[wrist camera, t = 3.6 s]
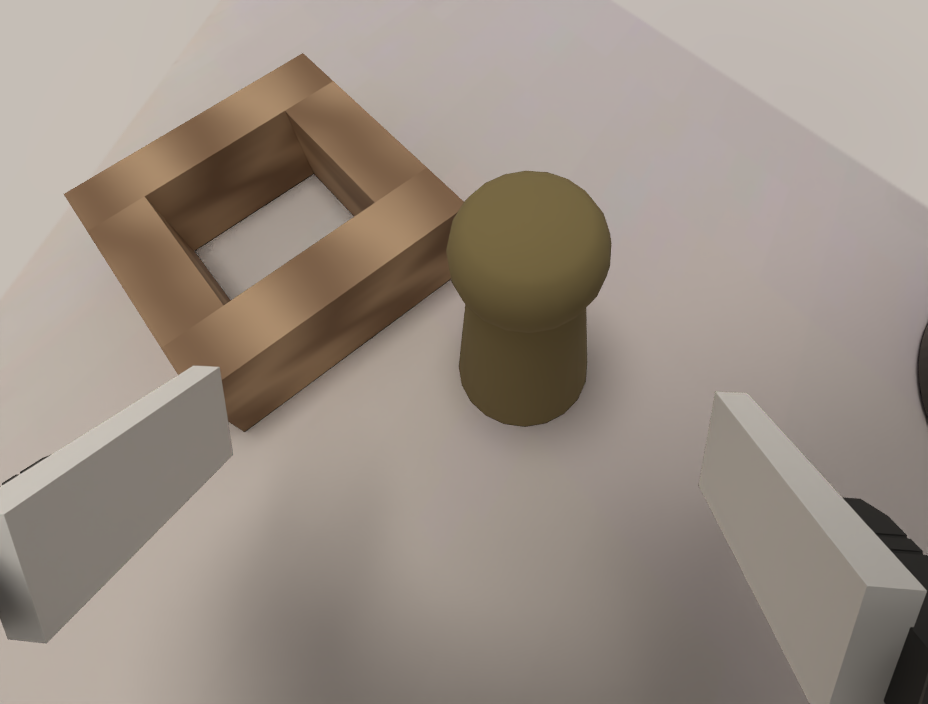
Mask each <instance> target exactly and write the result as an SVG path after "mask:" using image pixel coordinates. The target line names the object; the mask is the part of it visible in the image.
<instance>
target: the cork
mask: <svg viewBox="0 0 928 704" xmlns="http://www.w3.org/2000/svg"><path fill="white" fill-rule="evenodd" d="M446 253H447V259H448V265H449V271H450V276H451V281H452V283H453V285H454V286H455V288H456V290H457V292H458V293H459V295H460V297H461V298H462V300H463V302H464V303H465V313H464V323H463V332H462V342H461V351H460V361H459V370H460V377H461V383H462V386H463V388H464V390H465V392H466V393H467V395H468V397H469V399H470V401H471V402H472V403H473V404H474V405H475V406H476V407H477V408H478V409H479V410H481V411H482V412H483V413H484V414H485V415H486V416H488V417H491V418H493V419H495V420H497V421H499V422H501V423H503V424H509V425H517V426H524V427H526V426H531V425H537V424H543V423H547V422H549V421H551V420H553V419H554V418H556V417H558V416H560V415H562V414H564V413H565V412H566V411H567V410H568V409H569V408H570V407H571V406H572V405H573V404H574V403H575V402H576V401H577V399H578V397H579V395H580V393H581V391H582V389H583V386H584V384H585V382H586V370H587V327H586V307H587V306H588V305H589V304H590V303H591V302H592V301H593V300H594V299H595V298H596V297H597V295H598V293H599V291H600V289H601V287H602V285H603V282H604V280H605V278H606V276H607V273H608V270H609V267H610V257H611V238H610V232H609V229H608V226H607V223H606V220H605V217H604V214H603V212H602V211H601V210H600V208H599V207H598V206H597V205H596V203H595V202H594V201H593V200H592V198H591V197H590V196H589V195H588V194H587V192H586V191H585V190H583V189H582V188H580V187H579V186H577V185H576V184H574V183H573V182H571V181H570V180H568V179H566V178H563V177H560V176H557V175H554V174H551V173H548V172H535V171H522V172H516V173H511V174H505V175H502V176H500V177H498V178H496V179H494V180H491V181H489V182H487V183H485V184H484V185H483V186H481V187H480V188H479V189H478V190H477V191H475V192H474V193H473V194H472V195H471V196H469V198H468V199H467V200H466V201H465V202H464V203H463V204H462V206H461V208H460V209H459V211H458V212H457V214H456V216H455V217H454V219H453V221H452V225H451V230H450V234H449V239H448V244H447V249H446Z"/></svg>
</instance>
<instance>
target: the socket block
mask: <svg viewBox="0 0 928 704" xmlns="http://www.w3.org/2000/svg"><path fill="white" fill-rule="evenodd" d="M312 174H315V175H316V176H317V177H318V178H319V179H320V181H321V182H322V183H323V184H324V185H325V186H326V187H327V188H328V189H329V190H330V191H331V192H332V193H333V194H334V195H335V196H336V197H337V199H338V200H339V201H340V202H341V203H342V204H343V205H344V206H345V207H346V208H347V209H348V210H349V211H350V212H351V213H352V214H353V215H354V217H353V218H352V219H350V220H349V221H347V222H346V223H344V224H343V225H341V226H340V227H338V228H337V229H336V230H334V231H333V232H331V233H330V234H328V235H327V236H325V237H324V238H322V239H321V240H319V241H318V242H316V243H315V244H313V245H312V246H311V247H309V248H308V249H306V250H305V251H303V252H302V253H300V254H299V255H297V256H296V257H294V258H293V259H291V260H290V261H288V262H287V263H286V264H284V265H283V266H281V267H280V268H278V269H277V270H275V271H274V272H272V273H271V274H269V275H268V276H266V277H265V278H263V279H262V280H261V281H259V282H258V283H256V284H255V285H253V286H252V287H250V288H249V289H247V290H246V291H244V292H243V293H241V294H240V295H238V296H237V297H235V298H234V299H233V300H231V301H230V299H229V298H228V296H227V295H226V294H225V292H224V291H223V290H222V288H221V287H220V286H219V284H218V283H217V281H216V280H215V279H214V277H213V276H212V275H211V273H210V272H209V271H208V269H207V268H206V267H205V265H204V264H203V262H202V261H201V260H200V258H199V257H198V256H197V254H196V253H195V252H194V251H195V250H196V249H198V248H199V247H201V246H202V245H204V244H205V243H207V242H208V241H210V240H212V239H213V238H215V237H216V236H218V235H219V234H221V233H222V232H224V231H225V230H227V229H229V228H230V227H232V226H233V225H235V224H236V223H238V222H239V221H241V220H242V219H244V218H246V217H247V216H249V215H250V214H252V213H253V212H255V211H256V210H258V209H259V208H261V207H263V206H264V205H266V204H267V203H269V202H270V201H272V200H273V199H275V198H276V197H278V196H280V195H281V194H283V193H284V192H286V191H287V190H289V189H290V188H292V187H293V186H295V185H297V184H298V183H300V182H301V181H303V180H304V179H306V178H307V177H309V176H310V175H312ZM64 195H65V197H66V198H67V200H68V202H69V203H70V205H71V206H72V208H73V210H74V211H75V213H76V214H77V216H78V217H79V219H80V221H81V222H82V224H83V225H84V227H85V228H86V230H87V232H88V233H89V235H90V236H91V238H92V240H93V241H94V243H95V244H96V246H97V247H98V249H99V251H100V252H101V254H102V255H103V257H104V258H105V260H106V262H107V263H108V265H109V266H110V268H111V270H112V271H113V273H114V274H115V276H116V277H117V279H118V281H119V282H120V284H121V285H122V287H123V288H124V290H125V292H126V293H127V295H128V296H129V298H130V300H131V301H132V303H133V304H134V306H135V307H136V309H137V311H138V312H139V314H140V315H141V317H142V318H143V320H144V322H145V323H146V325H147V326H148V328H149V330H150V331H151V333H152V334H153V336H154V337H155V339H156V341H157V342H158V344H159V345H160V347H161V348H162V350H163V352H164V353H165V355H166V356H167V358H168V360H169V361H170V363H171V364H172V366H173V367H174V369H175V371H176V372H177V374H178V375H179V374H181V373H182V372H184V371H186V370H187V369H189V368H190V367H192V366H212V367H220V372H221V379H222V385H223V392H224V398H225V405H226V411H227V418H228V422H230V423H231V424H233V425H234V426H236V427H238V428H239V429H241V430H242V431H244V432H245V431H246V430H248V429H249V428H250V427H252V426H253V425H254V424H256V423H257V422H258V421H260V420H261V419H263V418H264V417H265V416H267V415H268V414H269V413H271V412H272V411H273V410H275V409H276V408H277V407H279V406H280V405H281V404H283V403H284V402H285V401H287V400H288V399H289V398H291V397H292V396H294V395H295V394H296V393H298V392H299V391H300V390H302V389H303V388H304V387H306V386H307V385H308V384H310V383H311V382H312V381H314V380H315V379H316V378H318V377H319V376H320V375H322V374H323V373H325V372H326V371H327V370H329V369H330V368H331V367H333V366H334V365H335V364H337V363H338V362H339V361H341V360H342V359H343V358H345V357H346V356H347V355H349V354H350V353H351V352H353V351H354V350H356V349H357V348H358V347H360V346H361V345H362V344H364V343H365V342H366V341H368V340H369V339H370V338H372V337H373V336H374V335H376V334H377V333H378V332H380V331H381V330H383V329H384V328H385V327H387V326H388V325H389V324H391V323H392V322H393V321H395V320H396V319H397V318H399V317H400V316H401V315H403V314H404V313H405V312H407V311H408V310H409V309H411V308H412V307H414V306H415V305H416V304H418V303H419V302H420V301H422V300H423V299H424V298H426V297H427V296H428V295H430V294H431V293H432V292H434V291H435V290H436V289H438V288H439V287H440V286H442V285H443V284H445V283H446V282H447V281H449V280H450V279H451V276H450V271H449V265H448V259H447V253H446V249H447V244H448V239H449V234H450V230H451V225H452V221H453V219H454V217H455V216H456V214H457V212H458V211H459V209H460V208H461V206H462V204H463V203H464V201H462V200H461V199H460V198H459V197H458V196H457V195H456V194H455V193H454V192H453V191H452V190H451V189H449V188H448V187H447V186H446V185H445V184H444V183H443V182H442V181H441V180H440V179H439V178H438V177H436V176H435V175H434V174H433V173H432V172H431V171H430V170H429V169H428V168H427V167H426V166H425V165H423V164H422V163H421V162H420V161H419V160H418V159H417V158H416V157H415V156H414V155H413V154H412V153H410V152H409V151H408V150H407V149H406V148H405V147H404V146H403V145H402V144H401V143H400V142H399V141H397V140H396V139H395V138H394V137H393V136H392V135H391V134H390V133H389V132H388V131H387V130H386V129H384V128H383V127H382V126H381V125H380V124H379V123H378V122H377V121H376V120H375V119H374V118H373V117H371V116H370V115H369V114H368V113H367V112H366V111H365V110H364V109H363V108H362V107H361V106H360V105H358V104H357V103H356V102H355V101H354V100H353V99H352V98H351V97H350V96H349V95H348V94H347V93H345V92H344V91H343V90H342V89H341V88H340V87H339V86H338V85H337V84H336V83H335V82H334V81H332V80H331V79H330V78H329V77H328V76H327V75H326V74H325V73H324V72H323V71H322V70H321V69H319V68H318V67H317V66H316V65H315V64H314V63H313V62H312V61H311V60H310V59H309V58H308V57H306V56H305V55H304V54H303V53H302V54H301V55H299V56H297V57H296V58H294V59H292V60H290V61H289V62H287V63H285V64H284V65H282V66H280V67H279V68H277V69H275V70H274V71H272V72H270V73H268V74H267V75H265V76H263V77H262V78H260V79H258V80H257V81H255V82H253V83H251V84H250V85H248V86H246V87H245V88H243V89H241V90H240V91H238V92H236V93H235V94H233V95H231V96H229V97H228V98H226V99H224V100H223V101H221V102H219V103H218V104H216V105H214V106H212V107H211V108H209V109H207V110H206V111H204V112H202V113H201V114H199V115H197V116H195V117H194V118H192V119H190V120H189V121H187V122H185V123H184V124H182V125H180V126H179V127H177V128H175V129H173V130H172V131H170V132H168V133H167V134H165V135H163V136H162V137H160V138H158V139H156V140H155V141H153V142H151V143H150V144H148V145H146V146H145V147H143V148H141V149H140V150H138V151H136V152H134V153H133V154H131V155H129V156H128V157H126V158H124V159H123V160H121V161H119V162H117V163H116V164H114V165H112V166H111V167H109V168H107V169H106V170H104V171H102V172H101V173H99V174H97V175H95V176H94V177H92V178H90V179H89V180H87V181H85V182H84V183H82V184H80V185H79V186H77V187H75V188H73V189H72V190H70V191H68V192H67V193H65V194H64Z"/></svg>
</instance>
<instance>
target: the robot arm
mask: <svg viewBox="0 0 928 704" xmlns="http://www.w3.org/2000/svg"><path fill="white" fill-rule="evenodd" d="M919 381H920V388H921V394H922V399H923V403H924V406H925V410H926V413H927V416H928V325H927V327H926V330H925V333H924V336H923V339H922V343H921V348H920V355H919ZM232 455H233V450H232V443H231V437H230V430H229V424H228V418H227V411H226V405H225V398H224V392H223V385H222V379H221V372H220V367H212V366H192V367H190V368H189V369H187V370H186V371H184V372H182V373H181V374H179V375H178V376H176V377H174V378H173V379H171V380H170V381H168V382H166V383H165V384H163V385H162V386H160V387H158V388H157V389H155V390H154V391H152V392H151V393H149V394H147V395H146V396H144V397H143V398H141V399H139V400H138V401H136V402H135V403H133V404H131V405H130V406H128V407H127V408H125V409H123V410H122V411H120V412H119V413H117V414H115V415H114V416H112V417H111V418H109V419H107V420H106V421H104V422H103V423H101V424H100V425H98V426H96V427H95V428H93V429H92V430H90V431H88V432H87V433H85V434H84V435H82V436H80V437H79V438H77V439H76V440H74V441H72V442H71V443H69V444H68V445H66V446H64V447H63V448H61V449H60V450H58V451H56V452H55V453H53V454H51V455H49V456H47V457H44V458H42V459H40V460H39V461H37V462H35V463H34V464H32V465H31V466H29V467H27V468H26V469H24V470H23V471H21V472H20V475H15V476H13V477H11V478H10V479H8V480H7V481H5V482H3V483H2V486H0V619H1V622H2V625H3V627H4V630H5V633H6V636H7V638H8V639H10V640H19V641H29V642H38V643H47V642H48V641H49V640H50V639H51V638H52V637H53V636H54V635H55V634H56V633H57V632H58V631H59V630H60V629H61V628H62V627H63V626H64V625H65V624H66V623H67V622H68V621H69V620H70V619H71V618H72V617H73V616H74V615H75V614H76V613H77V612H78V611H79V610H80V609H81V608H82V607H83V606H84V605H85V604H86V603H87V602H88V601H89V600H90V599H91V598H92V597H93V596H94V595H95V594H96V593H97V592H98V591H99V590H100V589H101V588H102V587H103V586H104V585H105V584H106V583H107V582H108V581H109V580H110V579H111V578H112V577H113V576H114V575H115V574H116V573H117V572H118V571H119V570H120V569H121V568H122V567H123V566H124V565H125V564H126V563H127V562H128V561H129V560H130V558H131V557H132V556H133V555H134V554H135V553H136V552H137V551H138V550H139V549H140V548H141V547H142V546H143V545H144V544H145V543H146V542H147V541H148V540H149V539H150V538H151V537H152V536H153V535H154V534H155V533H156V532H157V531H158V530H159V529H160V528H161V527H162V526H163V525H164V524H165V523H166V522H167V521H168V520H169V519H170V518H171V517H172V516H173V515H174V514H175V513H176V512H177V511H178V510H179V509H180V508H181V507H182V506H183V505H184V504H185V503H186V502H187V501H188V500H189V499H190V498H191V497H192V496H193V495H194V494H195V493H196V492H197V491H198V490H199V489H200V488H201V487H202V486H203V485H204V484H205V483H206V482H207V481H208V480H209V479H210V478H211V477H212V476H213V475H214V474H215V473H216V472H217V471H218V470H219V469H220V467H221V466H222V465H223V464H224V463H225V462H226V461H227V460H228V459H229V458H230V457H231V456H232ZM699 487H700V489H701V491H702V493H703V495H704V497H705V499H706V501H707V503H708V505H709V507H710V509H711V511H712V513H713V515H714V517H715V519H716V521H717V523H718V525H719V527H720V529H721V531H722V533H723V535H724V537H725V539H726V541H727V543H728V545H729V547H730V548H731V550H732V552H733V554H734V556H735V558H736V560H737V562H738V564H739V566H740V568H741V570H742V572H743V574H744V576H745V578H746V580H747V582H748V584H749V586H750V588H751V590H752V592H753V594H754V596H755V598H756V600H757V602H758V604H759V606H760V607H761V609H762V611H763V613H764V615H765V617H766V619H767V621H768V623H769V625H770V627H771V629H772V631H773V633H774V635H775V637H776V639H777V641H778V643H779V645H780V647H781V649H782V651H783V653H784V655H785V657H786V659H787V661H788V663H789V665H790V666H791V668H792V670H793V672H794V674H795V676H796V678H797V680H798V682H799V684H800V686H801V688H802V690H803V692H804V694H805V696H806V698H807V700H808V702H809V704H928V556H927V555H923V553H922V552H923V551H922V550H921V549H920V548H919V547H918V546H917V545H916V544H915V543H914V542H913V541H912V540H911V539H907V535H906V534H905V533H904V532H903V531H902V530H901V529H900V528H899V527H898V526H897V525H896V524H895V523H894V522H893V521H892V520H891V519H890V518H889V517H888V516H887V515H885V514H884V513H882V512H881V511H879V510H877V509H876V508H874V507H873V506H871V505H869V504H868V503H866V502H865V501H863V500H861V499H855V498H842V497H841V496H840V495H839V493H838V492H837V491H836V490H835V489H834V488H833V487H832V486H831V485H830V484H829V482H828V481H827V480H826V479H825V478H824V477H823V476H822V475H821V474H820V473H819V471H818V470H817V469H816V468H815V467H814V466H813V465H812V464H811V463H810V462H809V460H808V459H807V458H806V457H805V456H804V455H803V454H802V453H801V452H800V451H799V449H798V448H797V447H796V446H795V445H794V444H793V443H792V442H791V441H790V440H789V438H788V437H787V436H786V435H785V434H784V433H783V432H782V431H781V430H780V429H779V427H778V426H777V425H776V424H775V423H774V422H773V421H772V420H771V419H770V418H769V416H768V415H767V414H766V413H765V412H764V411H763V410H762V409H761V408H760V407H759V405H758V404H757V403H756V402H755V401H754V400H753V399H752V398H751V397H750V396H749V394H748V393H736V392H716V391H715V396H714V401H713V407H712V413H711V418H710V424H709V430H708V435H707V441H706V447H705V452H704V458H703V464H702V469H701V475H700V481H699Z"/></svg>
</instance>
